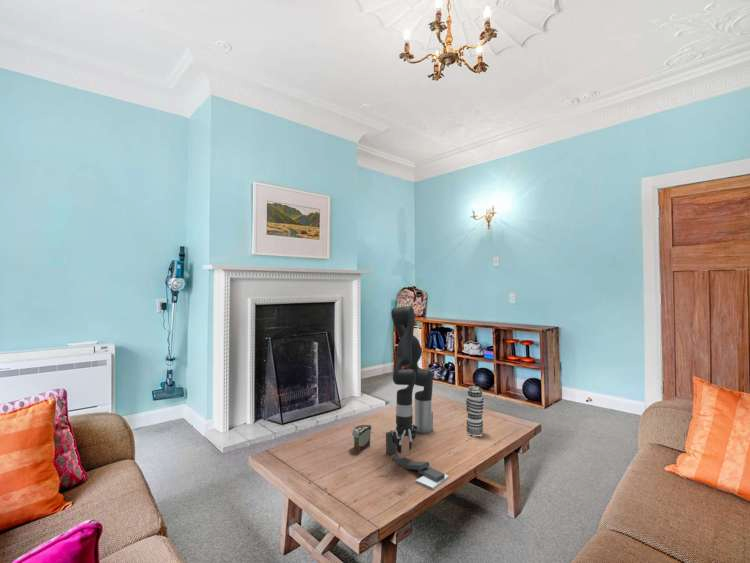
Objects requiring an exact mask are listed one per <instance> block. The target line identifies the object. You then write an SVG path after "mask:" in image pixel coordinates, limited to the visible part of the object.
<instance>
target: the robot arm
mask: <svg viewBox="0 0 750 563" xmlns="http://www.w3.org/2000/svg"><path fill="white" fill-rule="evenodd" d="M390 314H391V316H390V317H391V319H392V322H393V324H394V327H395V330H396V331H397V334H398V336H399V342H398V343H397V347H396V364H395V368H394V370H393V373H392V381H393V383H394V384H395V385H398V386H406V387H405V388H401V389H398V390H397V392H396V405H395V424H396V428H395V429H394V431H393V430H392V429H391V430H390V431H391V436H392V441H393V443H395V444H396V453H398V454H399V453H401V443H402V440H403V438H404V437H405V436H408V435H409V436H408V437H409V440H410V442H409V450H410V451H411V450H412V446H413V445H412V443H413V440H416V436H417V433H421V434H428V433H431V432H432V431H433V430H434V412H433V411H432V409H433V407H432V406H433V405H432V404H433V402H432V397H433V385H434V384H433V383H434V375H433V371H432V370H430V369H426V368H425V369H424V368H420V367H419V364H418V362H419V360H420V359H421V356H422V354H423V353H422V352H423V351H422V346H421V344H420V341H419V338H417V336H415V335H414V331H415V322H416V316H415V314H416V313H415V309H414V308H413V306H411V305H405V306H404V305H403V306H399V307H398V306H397V307H393V308H392V309H391V312H390ZM407 366H408V368H403V367H407ZM415 386H418V387H423V390H418V391H417V392H415V394H414V407H413V390H414V387H415ZM413 408H414V409H413ZM413 410H414V412H413ZM413 413H414V415H413ZM413 417H414V424H413ZM399 435H400V436H401V437H399Z"/></svg>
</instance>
